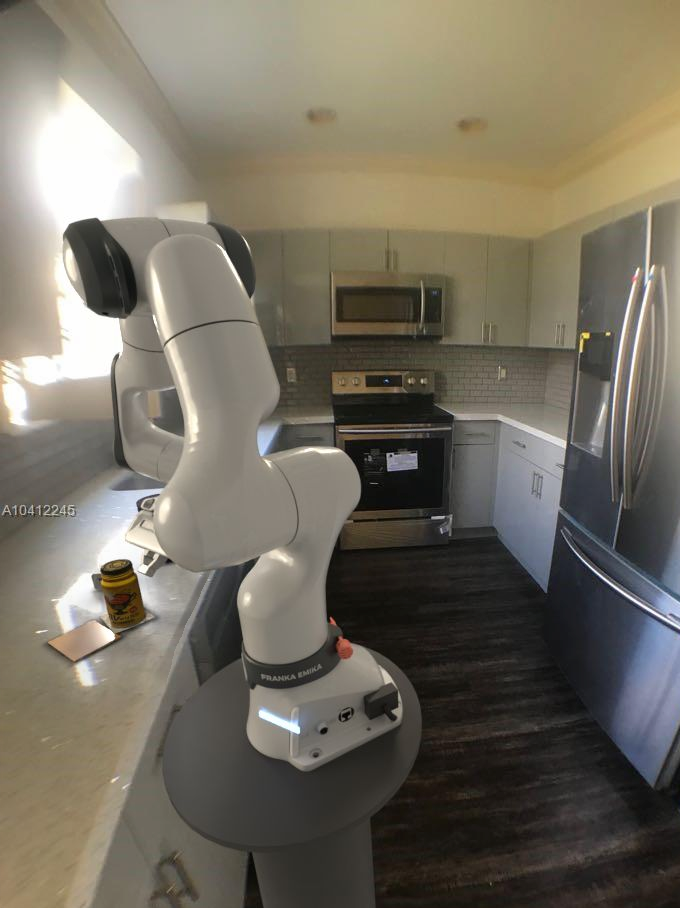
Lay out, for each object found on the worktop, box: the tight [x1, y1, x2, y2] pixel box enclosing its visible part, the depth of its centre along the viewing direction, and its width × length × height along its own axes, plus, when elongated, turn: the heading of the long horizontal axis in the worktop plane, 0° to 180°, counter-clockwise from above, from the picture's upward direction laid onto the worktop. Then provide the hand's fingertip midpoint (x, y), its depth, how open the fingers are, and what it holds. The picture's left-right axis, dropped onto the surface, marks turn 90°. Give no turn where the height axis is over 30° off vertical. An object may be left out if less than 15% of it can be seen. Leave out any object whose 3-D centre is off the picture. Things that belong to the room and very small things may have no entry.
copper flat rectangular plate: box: [47, 619, 122, 663], centre depth 83 cm, size 8×10×1 cm
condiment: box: [99, 558, 156, 634], centre depth 88 cm, size 7×8×12 cm
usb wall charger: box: [90, 564, 103, 591], centre depth 103 cm, size 4×7×4 cm, turn 11°
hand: (144, 574), depth 91 cm, fingers closed
